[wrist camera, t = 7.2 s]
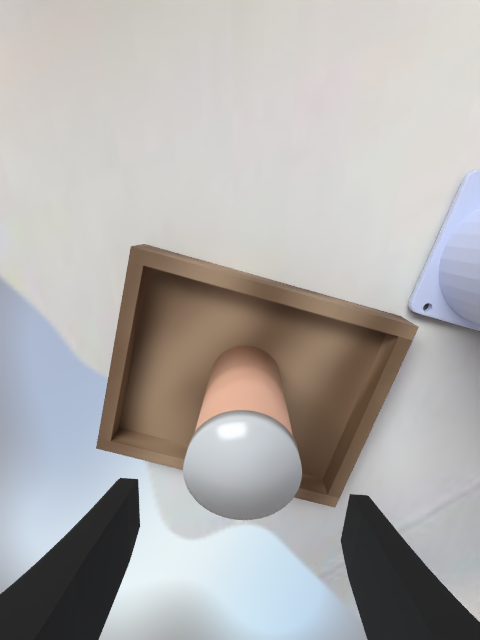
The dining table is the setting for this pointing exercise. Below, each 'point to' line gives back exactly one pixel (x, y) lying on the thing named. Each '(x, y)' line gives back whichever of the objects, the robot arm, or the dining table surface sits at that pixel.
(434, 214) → the dining table surface
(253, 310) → the walnut tray
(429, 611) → the robot arm
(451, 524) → the dining table surface
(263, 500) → the terracotta shaker
